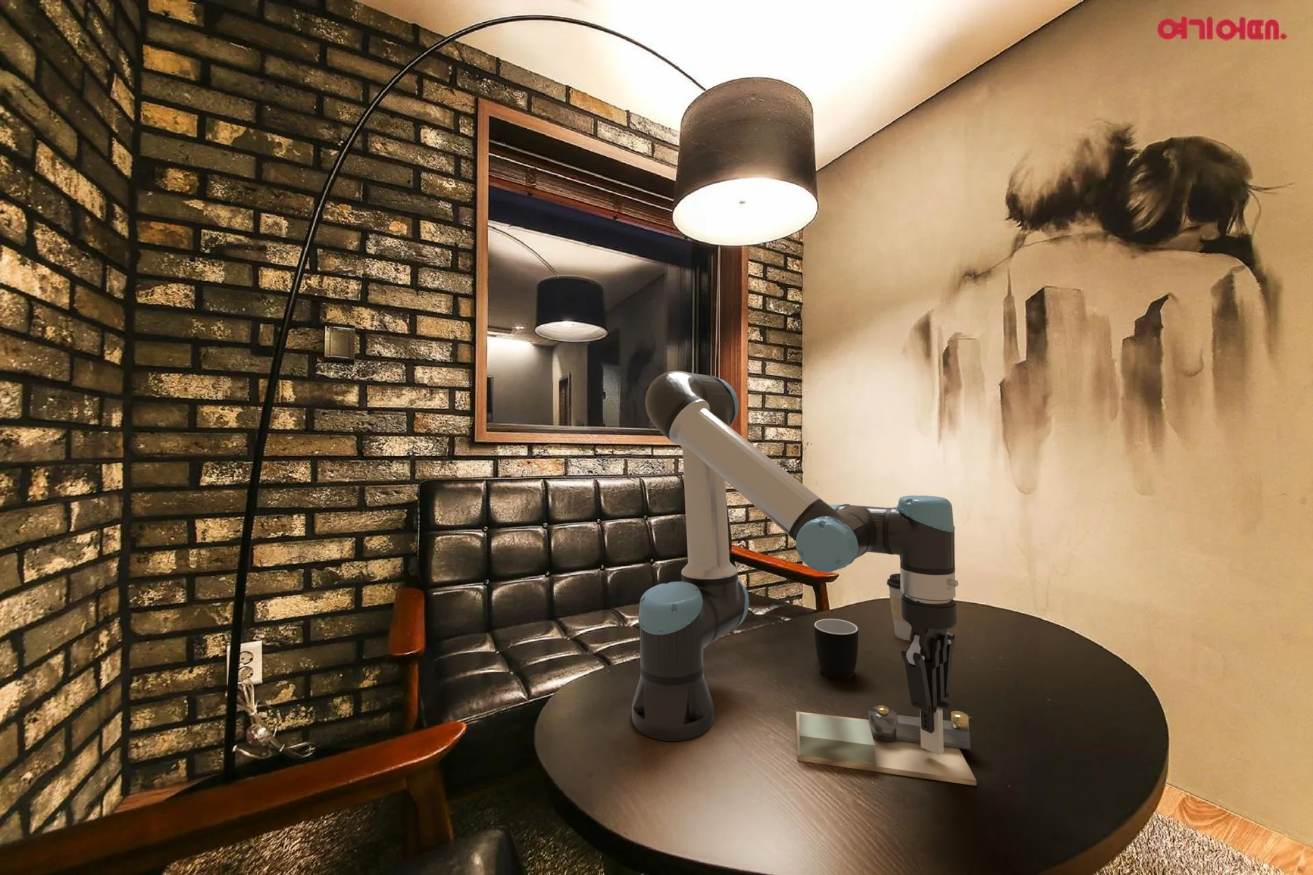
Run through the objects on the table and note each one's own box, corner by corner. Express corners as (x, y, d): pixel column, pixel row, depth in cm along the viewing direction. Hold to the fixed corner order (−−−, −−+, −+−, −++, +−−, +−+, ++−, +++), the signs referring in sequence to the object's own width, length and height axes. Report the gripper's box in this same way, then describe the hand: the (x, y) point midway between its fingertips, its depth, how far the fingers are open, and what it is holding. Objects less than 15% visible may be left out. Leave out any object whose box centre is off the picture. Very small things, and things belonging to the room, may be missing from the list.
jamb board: (797, 760, 78) (796, 736, 78) (796, 715, 91) (795, 694, 91) (976, 785, 71) (975, 759, 71) (948, 733, 84) (947, 711, 84)
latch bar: (871, 739, 81) (870, 711, 81) (867, 724, 85) (866, 698, 85) (973, 752, 77) (973, 723, 77) (964, 736, 81) (963, 708, 81)
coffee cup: (879, 632, 128) (878, 574, 128) (908, 627, 131) (907, 570, 131) (908, 646, 119) (906, 584, 119) (938, 640, 122) (937, 580, 122)
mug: (868, 679, 103) (867, 631, 104) (830, 685, 101) (829, 636, 101) (834, 655, 115) (833, 612, 115) (800, 660, 113) (799, 616, 113)
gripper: (933, 612, 70) (938, 780, 69) (972, 593, 77) (976, 744, 77) (882, 599, 76) (886, 753, 75) (922, 583, 83) (926, 723, 83)
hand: (932, 748), depth 76 cm, fingers closed
